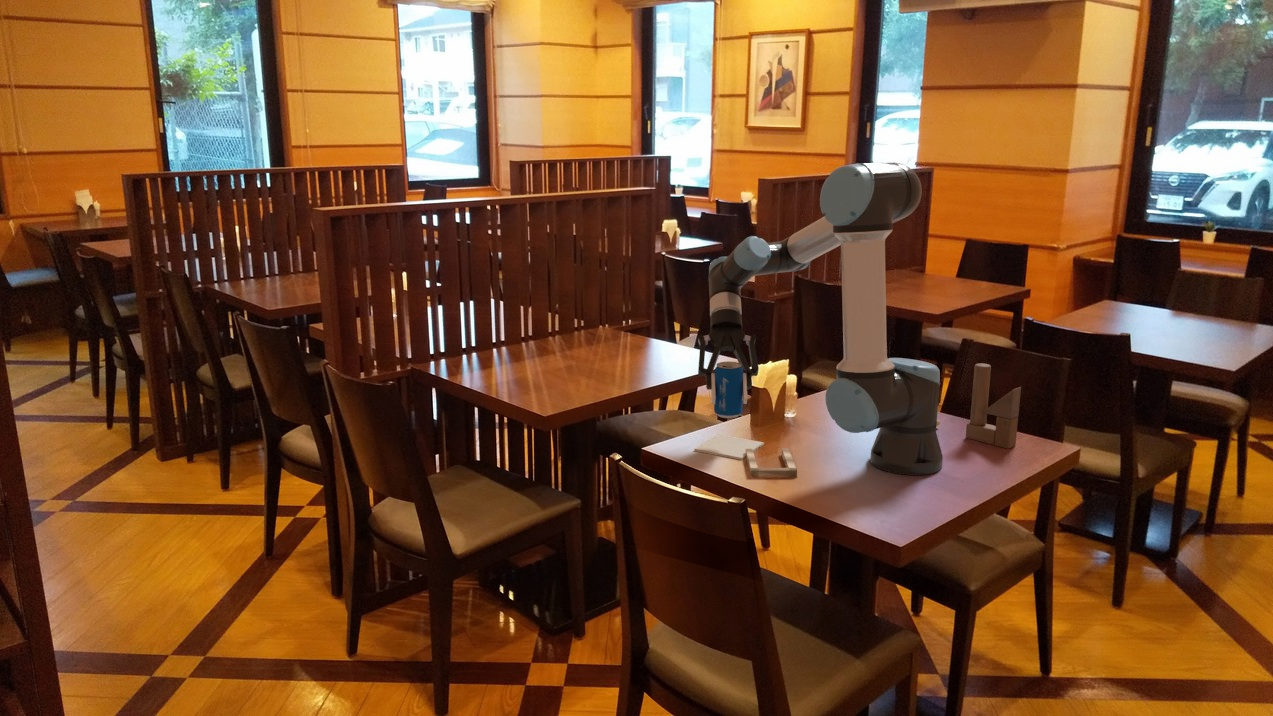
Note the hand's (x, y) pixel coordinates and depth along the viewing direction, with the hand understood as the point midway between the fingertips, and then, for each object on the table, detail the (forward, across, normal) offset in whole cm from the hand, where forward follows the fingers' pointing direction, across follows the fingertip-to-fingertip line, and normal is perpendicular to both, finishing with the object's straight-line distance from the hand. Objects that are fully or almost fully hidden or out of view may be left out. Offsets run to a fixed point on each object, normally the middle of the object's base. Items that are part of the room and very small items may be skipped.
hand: (729, 401), depth 202 cm
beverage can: (+1, 0, -6) cm, 6 cm away
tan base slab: (+15, -9, -2) cm, 17 cm away
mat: (+7, 0, -11) cm, 13 cm away
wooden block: (+4, -62, -14) cm, 63 cm away
